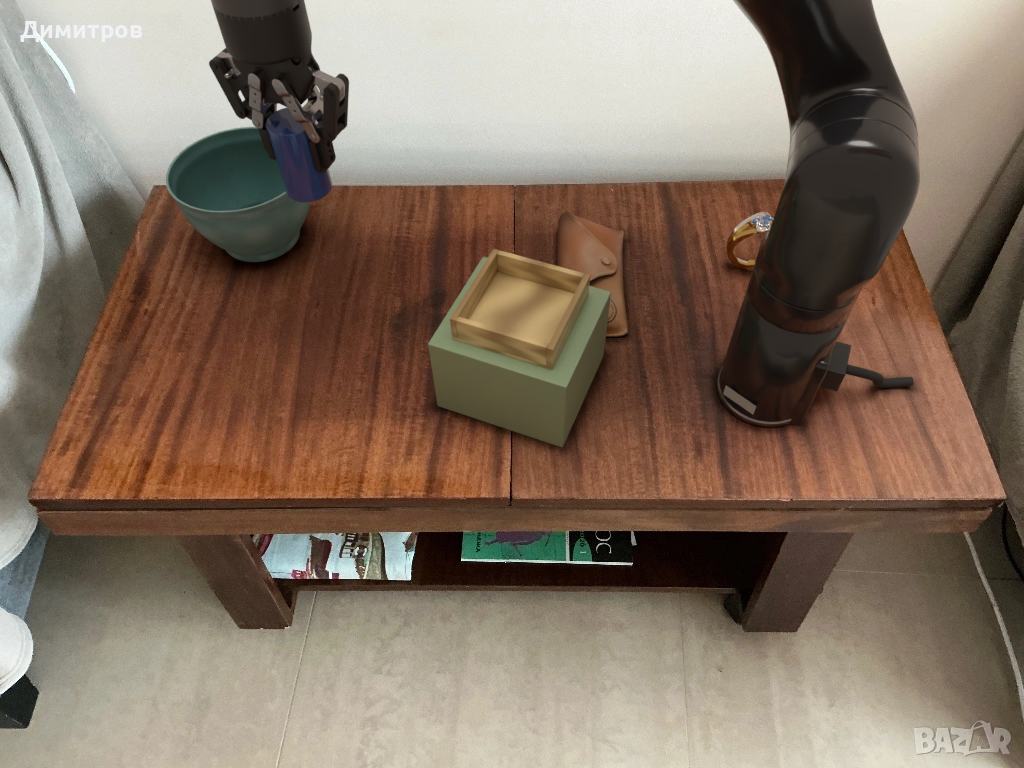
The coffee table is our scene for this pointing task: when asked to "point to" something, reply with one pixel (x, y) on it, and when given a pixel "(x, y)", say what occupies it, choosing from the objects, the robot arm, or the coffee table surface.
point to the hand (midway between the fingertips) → (302, 160)
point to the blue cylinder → (296, 158)
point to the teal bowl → (236, 195)
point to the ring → (761, 224)
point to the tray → (521, 308)
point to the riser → (521, 375)
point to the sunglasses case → (595, 262)
